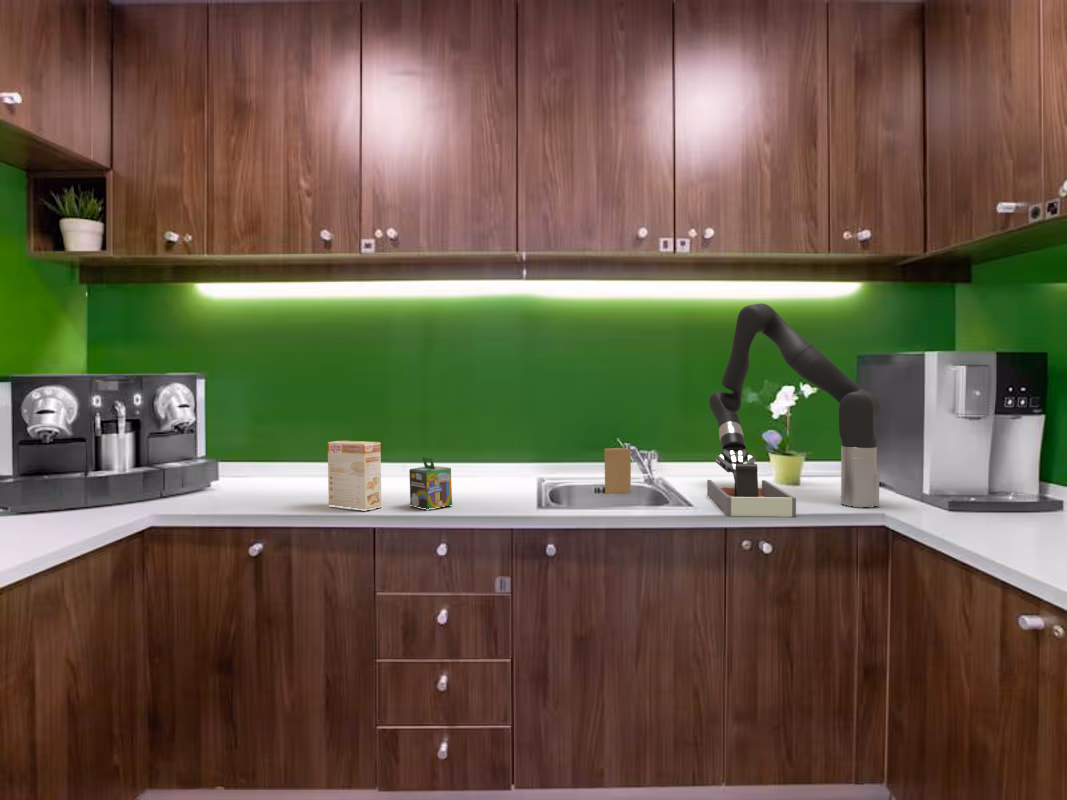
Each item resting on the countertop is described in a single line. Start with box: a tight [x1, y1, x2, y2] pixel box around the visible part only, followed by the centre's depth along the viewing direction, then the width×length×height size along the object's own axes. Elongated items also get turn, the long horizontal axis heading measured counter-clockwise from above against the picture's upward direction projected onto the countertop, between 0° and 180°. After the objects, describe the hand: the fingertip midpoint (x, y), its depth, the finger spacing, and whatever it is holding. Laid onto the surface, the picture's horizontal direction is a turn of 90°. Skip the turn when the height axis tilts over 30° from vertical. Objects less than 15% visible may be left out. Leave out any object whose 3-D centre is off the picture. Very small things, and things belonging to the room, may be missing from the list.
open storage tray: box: [706, 479, 797, 518], centre depth 190 cm, size 18×32×5 cm, turn 174°
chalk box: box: [409, 456, 453, 509], centre depth 190 cm, size 9×9×15 cm
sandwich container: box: [604, 447, 632, 495], centre depth 219 cm, size 9×15×15 cm, turn 172°
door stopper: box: [733, 463, 759, 497], centre depth 192 cm, size 9×6×12 cm, turn 170°
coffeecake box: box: [327, 440, 382, 509], centre depth 189 cm, size 15×7×20 cm, turn 59°
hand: (739, 481), depth 200 cm, fingers closed
